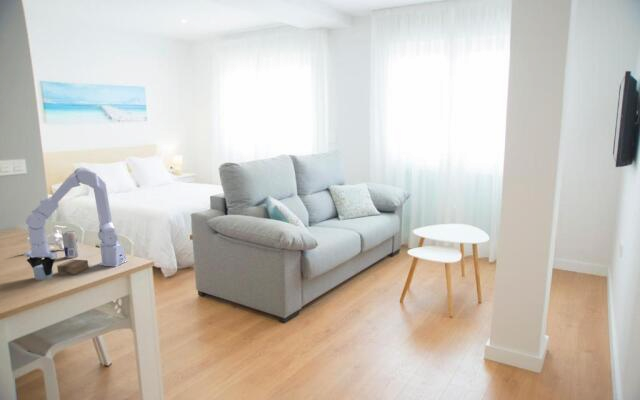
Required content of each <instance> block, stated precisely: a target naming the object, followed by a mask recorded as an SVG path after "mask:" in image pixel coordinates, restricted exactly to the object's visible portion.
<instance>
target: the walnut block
mask: <svg viewBox="0 0 640 400" xmlns="http://www.w3.org/2000/svg"><path fill="white" fill-rule="evenodd" d="M56 267H57V274H58V275H67V276H68V275H71V276H75V275H78V274H79V273H80V274H81V273H82V272H85V271H86V270H88V269H89V262H88V260H87V259H74V258H70V259H69V260H67V261H65V262H62V263H60V264H58V265H57V266H56Z"/></svg>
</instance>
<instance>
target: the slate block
mask: <svg viewBox="0 0 640 400" xmlns="http://www.w3.org/2000/svg"><path fill="white" fill-rule="evenodd" d="M32 269H33V275H34V280H38V281H39V280H41V281H45V280H47V279H49V278H52V277H54V273H53V272H54V271H53V270H52V272H51V274H50V275H48V276H46V275H45V272H44V268H43V265H42V263H41V265H39V266H36V267H33V268H32Z"/></svg>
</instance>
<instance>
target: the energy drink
mask: <svg viewBox="0 0 640 400" xmlns="http://www.w3.org/2000/svg"><path fill="white" fill-rule="evenodd" d="M61 235H62V237H63V240H62V243H63V246H64V250H63V251H64V257H65V258H66V259H74V258H73V257H75V258H77V257H78V256H79V250H78V243H77V235H76V232H75V230H68V231H63V232H62V233H61Z"/></svg>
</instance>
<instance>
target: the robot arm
mask: <svg viewBox="0 0 640 400" xmlns="http://www.w3.org/2000/svg"><path fill="white" fill-rule="evenodd" d="M81 184H83V185H86V186H88V187H90V188H92V189H93V192H94V199H95V204H96V210H97V217H98V222H99V225H98V226H99V227H98V228H99V230H98V231H99V232H98V236H97V237H98V238H99V240H100V241H101V242H100V244H99V245H100V247H99V248H100V254H101V262H99V263H98V264H97V265H98V266H101V267H102V266H105V267H113V268H114V267H118V266H120V265H122V264H124V263H126V262H128V259H127V257H126V249H125V246H124V245H123V244H120V243H119V234H118V233H117V232H116V230H115V226H114V224H113V220H112V213H111V207H110V202H109V197H108V190H107V186H106V185H107V184H106V182H105V181H104V180H103V179H102V178H101V177H100V176H99V175H98V174H97V173H96V172H94V171H92V170H90V169H88V168H85V167H78V168H76V169H75V170H74V171H73V172H72V173H70V174H69V176H68V177H67V178H66V179H65V180H64V181H63V182H62V183H61V185H60V186H59V187H58V188H57V189H56V190H55V192H54V193H53V194H52V195H51V197H45V198H44V199H41V200H40V201H39V202H40V204H38V206H37V207H36V208H35V209H32V210H31V213H30V214H28V215H27V216H26V219H25V223H26V224H27V225H28V229H27V230H28V238H29V239H30V244H29V245H30V250H31V251H30V250H28V251H24V258H27V259H26V262H28V264H29V265H30V266H31V267H32V269H33V267H36V266H39V265H41V264H42V265H43V268H44V272H45V275H46V276H48V275H50V274H51V272H52V271H53V265H54V263H55V261H56V259H57V258H58V255H57V254H58V253H57V252H52V251H48V244H47V238H46V236H47V233H46V229H45V225H46V220H48V219H49V218H50V217H51V216H52V214H53V213H55V211H56V210H57V209H58V208H59V207H60V206H59V203H60V201H61V200H62V199H63V198H64V197H65V196H66V195H67V194H68V193H69V192H70V191H71V190H72V188H76V187H80V186H81ZM28 257H29V258H28Z"/></svg>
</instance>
